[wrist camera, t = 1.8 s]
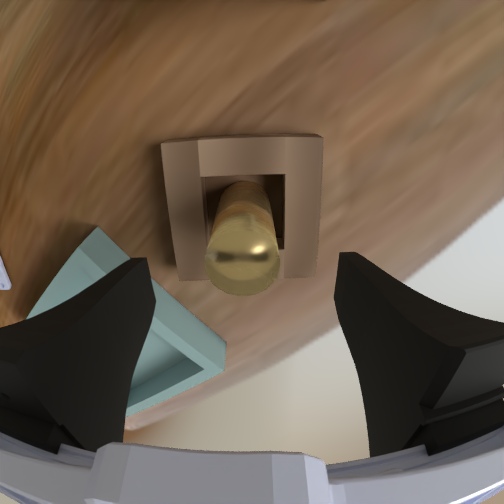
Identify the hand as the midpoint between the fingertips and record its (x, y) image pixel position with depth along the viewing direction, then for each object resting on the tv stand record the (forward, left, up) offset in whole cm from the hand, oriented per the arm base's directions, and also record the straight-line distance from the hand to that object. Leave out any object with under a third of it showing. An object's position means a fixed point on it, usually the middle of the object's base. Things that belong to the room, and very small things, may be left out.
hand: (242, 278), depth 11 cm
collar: (0, 0, -8) cm, 8 cm away
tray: (-11, -10, -8) cm, 17 cm away
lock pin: (0, 0, -8) cm, 8 cm away
